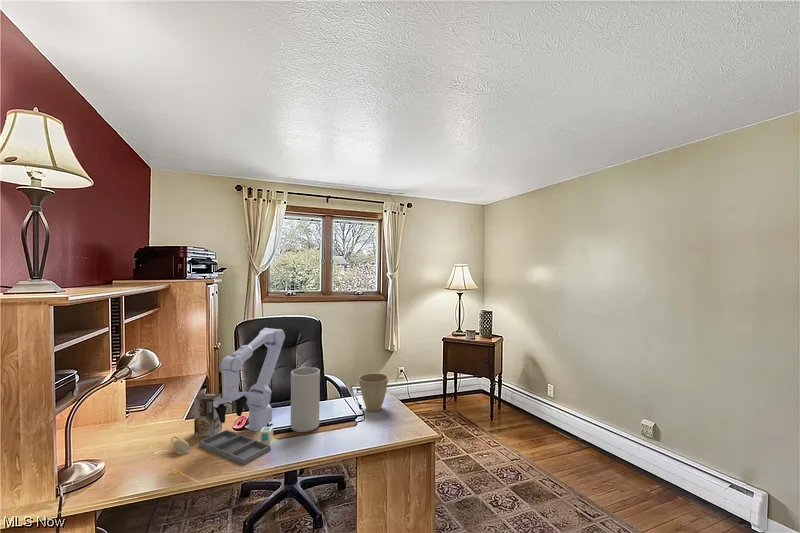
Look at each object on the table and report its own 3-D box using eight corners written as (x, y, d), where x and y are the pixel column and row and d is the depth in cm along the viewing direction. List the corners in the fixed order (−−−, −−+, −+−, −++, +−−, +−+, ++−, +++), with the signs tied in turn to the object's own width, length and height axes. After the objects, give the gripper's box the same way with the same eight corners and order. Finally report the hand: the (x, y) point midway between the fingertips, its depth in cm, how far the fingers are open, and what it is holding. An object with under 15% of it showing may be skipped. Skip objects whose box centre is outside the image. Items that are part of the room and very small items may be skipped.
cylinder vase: (290, 422, 169) (290, 368, 169) (318, 419, 173) (318, 366, 173) (290, 434, 157) (291, 376, 157) (320, 430, 161) (321, 374, 161)
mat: (267, 436, 155) (267, 436, 155) (279, 441, 151) (279, 440, 151) (253, 443, 148) (253, 442, 148) (265, 448, 145) (265, 447, 145)
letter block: (263, 439, 152) (263, 426, 152) (272, 439, 152) (273, 426, 152) (259, 444, 148) (260, 431, 148) (269, 443, 148) (270, 431, 148)
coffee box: (222, 430, 160) (222, 393, 160) (213, 437, 154) (214, 399, 154) (203, 429, 161) (203, 392, 161) (193, 436, 155) (193, 398, 155)
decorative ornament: (181, 457, 138) (181, 443, 138) (169, 451, 142) (169, 437, 142) (192, 452, 141) (192, 438, 141) (179, 447, 145) (179, 433, 145)
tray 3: (255, 445, 147) (255, 439, 147) (270, 451, 143) (270, 445, 143) (228, 459, 137) (228, 453, 137) (243, 465, 132) (243, 459, 132)
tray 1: (226, 434, 156) (226, 429, 156) (240, 439, 152) (240, 434, 152) (198, 446, 146) (198, 441, 146) (212, 452, 141) (212, 447, 141)
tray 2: (240, 439, 152) (240, 434, 152) (254, 445, 147) (255, 439, 147) (213, 452, 141) (213, 447, 141) (227, 459, 137) (227, 453, 137)
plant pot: (376, 400, 197) (376, 371, 197) (393, 409, 185) (394, 378, 185) (352, 407, 187) (353, 376, 187) (369, 417, 176) (370, 384, 176)
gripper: (240, 379, 158) (239, 410, 158) (208, 389, 146) (208, 423, 146) (251, 382, 155) (250, 414, 155) (219, 392, 142) (219, 427, 142)
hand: (230, 418), depth 150 cm, fingers open, 7 cm apart
